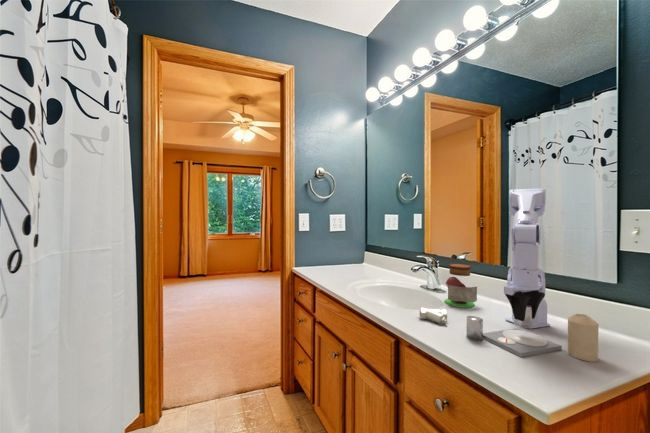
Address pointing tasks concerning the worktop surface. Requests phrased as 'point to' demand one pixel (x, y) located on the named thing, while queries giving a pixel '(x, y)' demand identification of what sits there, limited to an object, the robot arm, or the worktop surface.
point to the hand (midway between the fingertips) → (524, 318)
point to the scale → (521, 342)
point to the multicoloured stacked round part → (460, 288)
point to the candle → (583, 337)
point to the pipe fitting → (434, 315)
